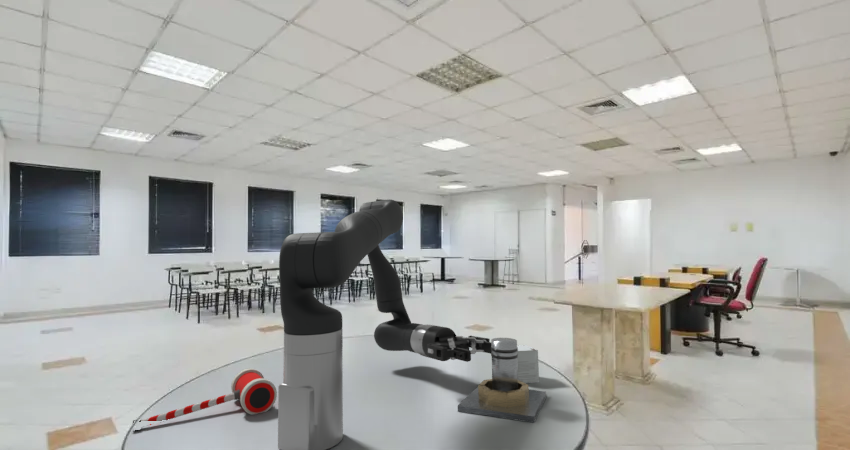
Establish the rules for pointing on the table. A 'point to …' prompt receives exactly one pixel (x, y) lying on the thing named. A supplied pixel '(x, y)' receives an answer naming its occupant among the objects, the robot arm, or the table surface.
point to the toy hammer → (235, 396)
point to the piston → (504, 364)
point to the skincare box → (527, 364)
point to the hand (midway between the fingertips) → (484, 352)
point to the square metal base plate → (504, 402)
